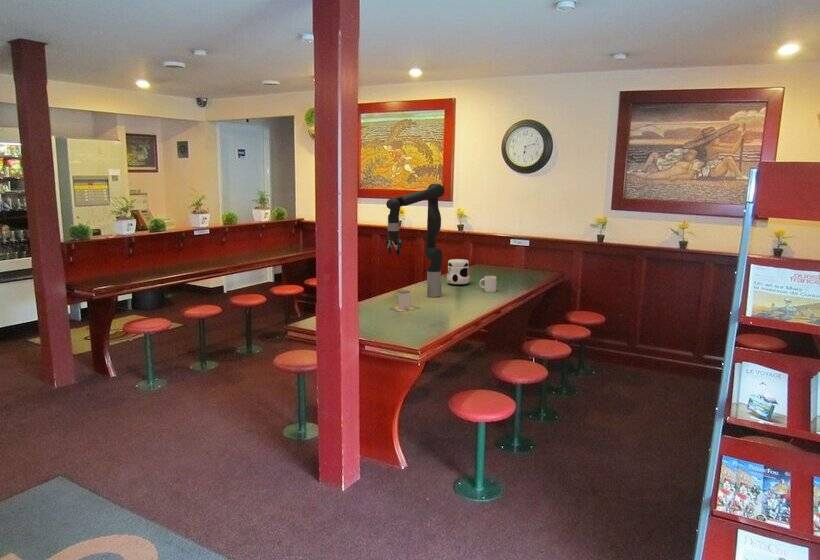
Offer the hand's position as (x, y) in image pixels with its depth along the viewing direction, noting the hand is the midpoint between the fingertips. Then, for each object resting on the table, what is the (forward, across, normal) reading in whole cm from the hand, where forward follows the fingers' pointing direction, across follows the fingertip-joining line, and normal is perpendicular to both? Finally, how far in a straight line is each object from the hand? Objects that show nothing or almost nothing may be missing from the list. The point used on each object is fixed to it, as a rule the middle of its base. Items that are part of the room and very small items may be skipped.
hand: (393, 254), depth 375 cm
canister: (+30, -23, +10) cm, 39 cm away
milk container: (+30, +11, -69) cm, 76 cm away
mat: (+30, -23, +10) cm, 39 cm away
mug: (+30, -20, -68) cm, 77 cm away
